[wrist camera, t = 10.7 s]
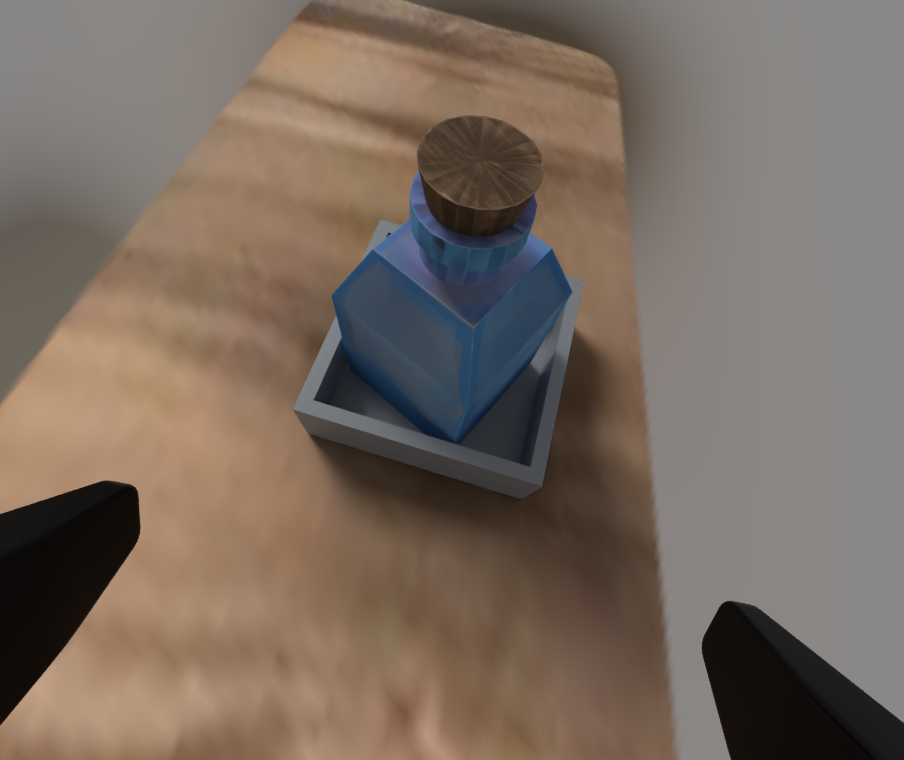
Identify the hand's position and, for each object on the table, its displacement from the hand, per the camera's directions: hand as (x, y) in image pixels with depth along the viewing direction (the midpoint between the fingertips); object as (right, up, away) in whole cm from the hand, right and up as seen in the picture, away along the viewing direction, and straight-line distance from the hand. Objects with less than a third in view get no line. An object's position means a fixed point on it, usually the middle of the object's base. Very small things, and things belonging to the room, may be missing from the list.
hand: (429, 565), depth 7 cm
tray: (0, +3, +16) cm, 16 cm away
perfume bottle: (0, +3, +15) cm, 16 cm away
